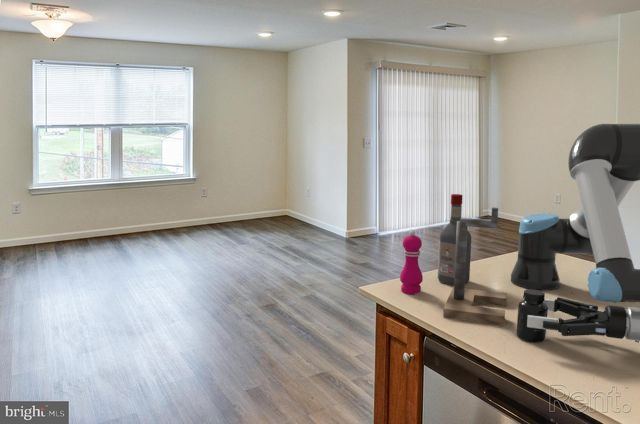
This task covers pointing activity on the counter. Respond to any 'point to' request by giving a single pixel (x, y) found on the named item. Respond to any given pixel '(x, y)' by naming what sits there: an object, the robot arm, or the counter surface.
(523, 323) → the supplement bottle
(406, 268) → the pepper mill
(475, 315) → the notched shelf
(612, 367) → the counter surface
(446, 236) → the liquor
